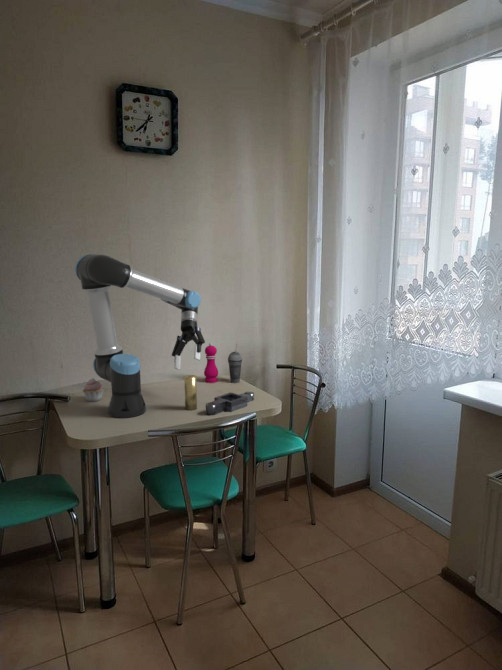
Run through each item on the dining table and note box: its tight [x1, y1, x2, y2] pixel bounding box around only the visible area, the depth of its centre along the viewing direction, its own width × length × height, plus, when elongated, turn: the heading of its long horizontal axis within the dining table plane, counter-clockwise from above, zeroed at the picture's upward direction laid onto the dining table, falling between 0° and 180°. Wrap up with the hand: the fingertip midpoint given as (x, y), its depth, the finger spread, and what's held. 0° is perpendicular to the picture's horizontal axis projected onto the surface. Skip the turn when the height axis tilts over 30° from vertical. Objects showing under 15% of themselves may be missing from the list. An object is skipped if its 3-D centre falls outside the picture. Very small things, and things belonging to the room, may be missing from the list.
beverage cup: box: [227, 342, 243, 384], centre depth 244 cm, size 7×7×20 cm
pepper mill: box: [203, 342, 219, 384], centre depth 245 cm, size 7×7×20 cm
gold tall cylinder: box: [183, 374, 198, 411], centre depth 205 cm, size 5×5×14 cm
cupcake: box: [82, 377, 105, 403], centre depth 217 cm, size 9×9×10 cm
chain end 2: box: [226, 391, 255, 412], centre depth 212 cm, size 19×10×3 cm, turn 139°
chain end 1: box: [205, 392, 248, 416], centre depth 205 cm, size 19×10×4 cm, turn 139°
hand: (187, 364), depth 215 cm, fingers open, 13 cm apart
